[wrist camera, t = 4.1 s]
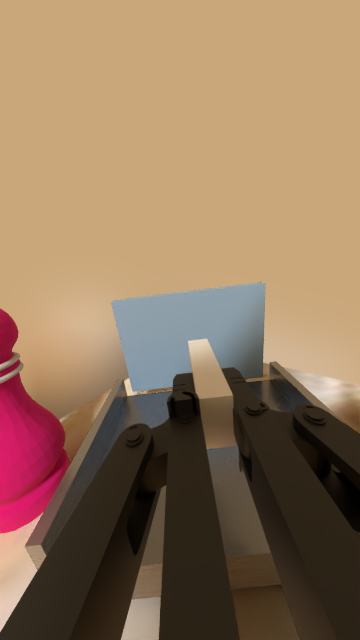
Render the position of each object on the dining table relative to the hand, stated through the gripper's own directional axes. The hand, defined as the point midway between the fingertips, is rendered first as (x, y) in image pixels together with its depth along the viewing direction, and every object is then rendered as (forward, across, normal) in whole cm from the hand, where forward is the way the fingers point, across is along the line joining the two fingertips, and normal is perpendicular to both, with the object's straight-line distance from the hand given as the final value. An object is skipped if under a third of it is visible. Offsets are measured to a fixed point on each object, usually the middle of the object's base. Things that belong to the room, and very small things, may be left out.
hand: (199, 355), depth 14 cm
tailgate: (+8, 0, -8) cm, 11 cm away
